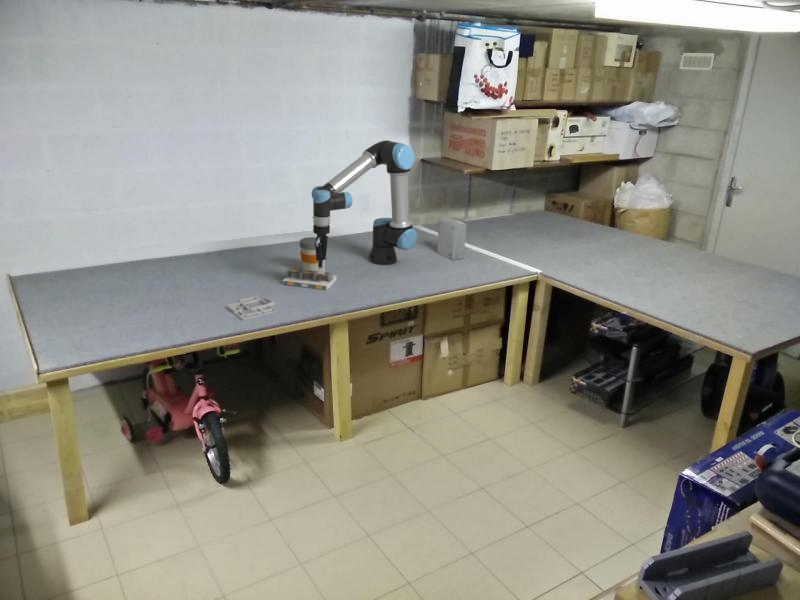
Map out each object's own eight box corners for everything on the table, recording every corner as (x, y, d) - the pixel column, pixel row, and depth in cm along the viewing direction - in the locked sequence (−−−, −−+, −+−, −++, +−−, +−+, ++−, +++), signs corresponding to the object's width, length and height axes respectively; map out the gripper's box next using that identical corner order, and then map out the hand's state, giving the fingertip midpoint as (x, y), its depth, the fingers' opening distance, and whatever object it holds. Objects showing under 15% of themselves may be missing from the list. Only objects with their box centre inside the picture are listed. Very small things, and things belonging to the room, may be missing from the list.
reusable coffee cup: (322, 264, 325) (323, 236, 320) (326, 272, 314) (326, 244, 308) (298, 265, 322) (298, 237, 317) (301, 273, 311) (300, 244, 305)
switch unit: (336, 279, 306) (336, 269, 304) (326, 290, 292) (326, 280, 290) (293, 274, 310) (293, 264, 308) (282, 284, 295) (282, 274, 294)
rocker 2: (331, 275, 303) (332, 272, 302) (325, 277, 293) (325, 275, 293) (322, 274, 303) (322, 271, 303) (315, 276, 294) (315, 273, 293)
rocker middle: (318, 273, 304) (318, 270, 303) (311, 276, 294) (311, 273, 294) (308, 272, 305) (308, 269, 304) (301, 275, 295) (301, 272, 295)
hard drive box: (464, 258, 346) (467, 224, 339) (453, 260, 342) (456, 225, 335) (446, 251, 358) (449, 217, 351) (436, 252, 354) (438, 218, 347)
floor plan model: (256, 293, 285) (256, 289, 285) (283, 311, 268) (283, 307, 267) (217, 301, 274) (217, 297, 273) (242, 321, 256) (242, 317, 256)
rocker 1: (304, 272, 305) (304, 269, 305) (297, 274, 295) (297, 271, 295) (294, 270, 306) (294, 268, 305) (287, 273, 296) (287, 270, 296)
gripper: (318, 220, 291) (317, 267, 300) (309, 227, 279) (309, 276, 288) (333, 221, 290) (332, 269, 299) (325, 229, 278) (324, 278, 287)
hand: (321, 273), depth 293 cm, fingers closed
